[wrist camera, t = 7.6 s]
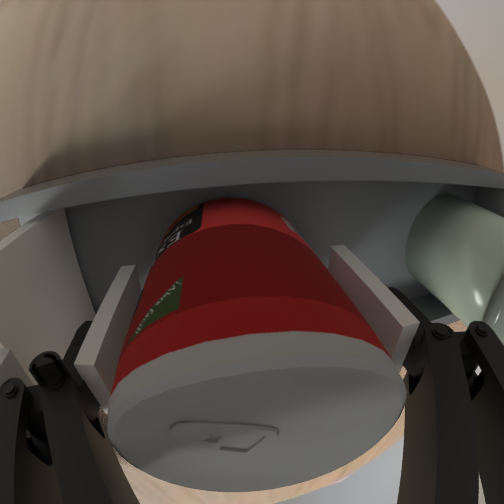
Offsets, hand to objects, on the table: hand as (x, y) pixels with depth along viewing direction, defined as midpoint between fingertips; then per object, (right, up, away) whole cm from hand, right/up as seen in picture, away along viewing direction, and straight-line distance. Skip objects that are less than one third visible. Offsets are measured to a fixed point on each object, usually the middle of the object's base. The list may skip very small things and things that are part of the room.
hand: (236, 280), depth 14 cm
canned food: (0, +1, +2) cm, 2 cm away
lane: (+3, +2, +3) cm, 5 cm away
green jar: (+15, +2, +4) cm, 15 cm away
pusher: (-10, 0, +1) cm, 10 cm away
